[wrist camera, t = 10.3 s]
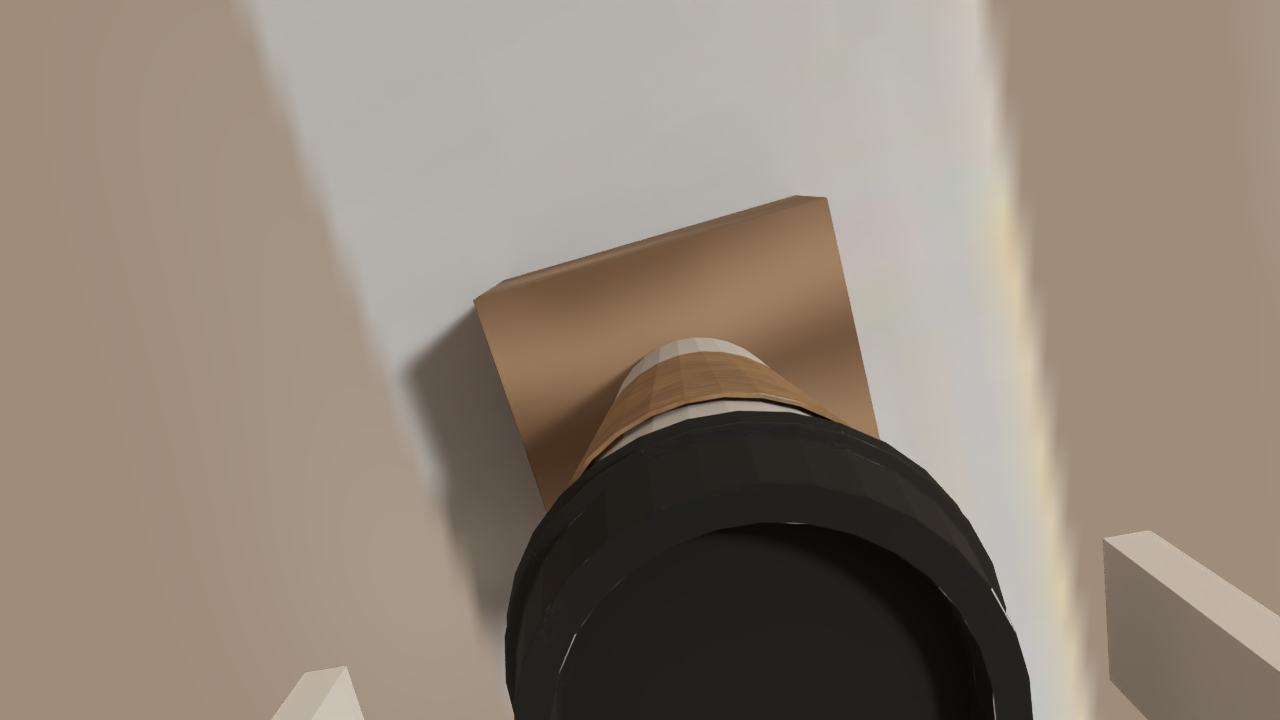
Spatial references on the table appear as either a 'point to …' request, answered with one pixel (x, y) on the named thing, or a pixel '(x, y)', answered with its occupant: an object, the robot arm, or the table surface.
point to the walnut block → (674, 323)
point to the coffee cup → (753, 567)
